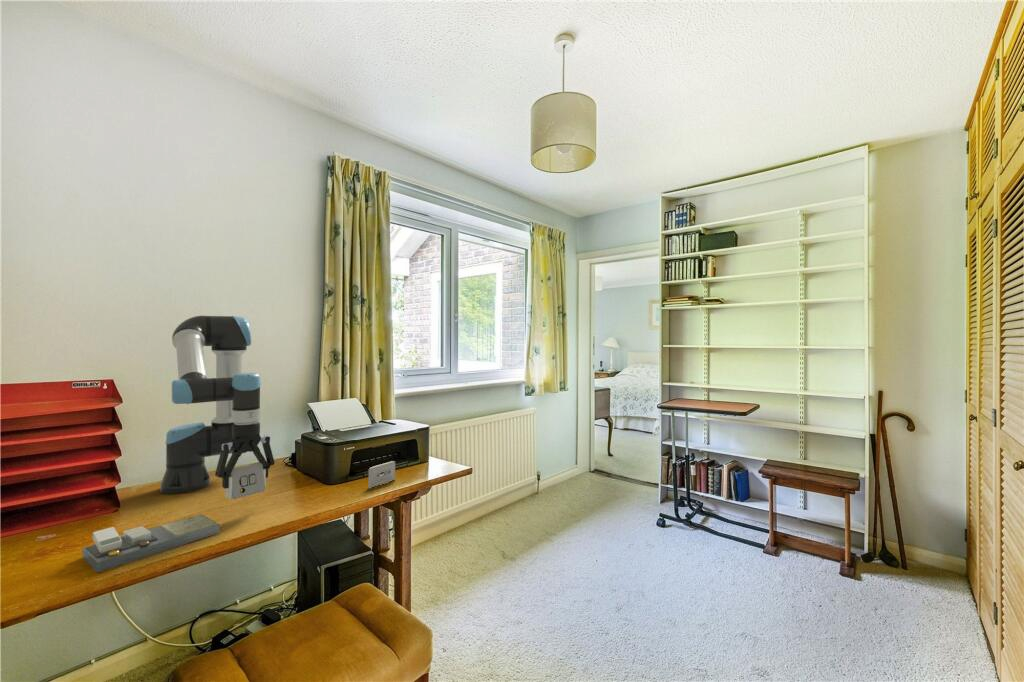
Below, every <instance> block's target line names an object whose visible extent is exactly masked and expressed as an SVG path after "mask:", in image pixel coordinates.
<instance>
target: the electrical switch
mask: <svg viewBox="0 0 1024 682" xmlns="http://www.w3.org/2000/svg"><path fill="white" fill-rule="evenodd" d="M230 477H232V499H233V500H235V499H239V498H244V497H245V498H246V497H247V496H253V495H257V494H259V493H263V492H265V491H266V489H265V481H264V473H263V464H262V463H259V462H256V463H251V464H246V465H241V466H236V467H234V468H233V470H232V472H231V474H230Z"/></svg>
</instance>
